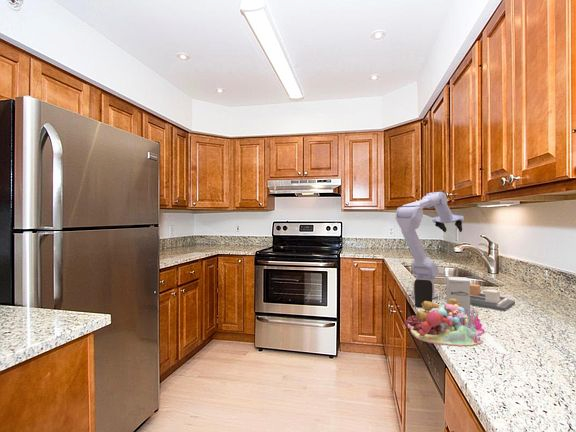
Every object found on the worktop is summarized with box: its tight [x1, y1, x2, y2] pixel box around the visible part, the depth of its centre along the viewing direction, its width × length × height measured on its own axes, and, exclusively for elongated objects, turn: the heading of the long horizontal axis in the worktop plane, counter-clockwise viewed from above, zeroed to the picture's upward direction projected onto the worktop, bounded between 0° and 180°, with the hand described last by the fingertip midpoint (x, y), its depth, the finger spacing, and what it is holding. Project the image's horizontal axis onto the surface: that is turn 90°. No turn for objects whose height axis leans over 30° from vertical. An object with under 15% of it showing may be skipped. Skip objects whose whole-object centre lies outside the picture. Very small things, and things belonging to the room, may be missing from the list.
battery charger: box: [413, 277, 434, 308], centre depth 127 cm, size 7×4×11 cm, turn 66°
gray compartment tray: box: [470, 293, 516, 312], centre depth 132 cm, size 15×19×2 cm
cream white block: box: [484, 289, 501, 303], centre depth 126 cm, size 4×4×5 cm
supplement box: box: [445, 275, 471, 315], centre depth 121 cm, size 7×7×13 cm
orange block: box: [470, 283, 482, 296], centre depth 137 cm, size 4×4×5 cm
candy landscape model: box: [404, 299, 485, 347], centre depth 100 cm, size 25×24×9 cm
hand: (453, 230), depth 159 cm, fingers open, 7 cm apart
